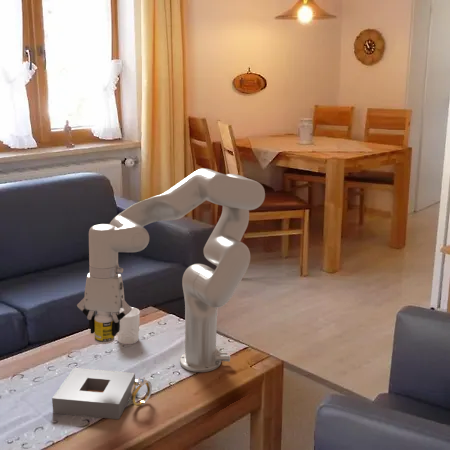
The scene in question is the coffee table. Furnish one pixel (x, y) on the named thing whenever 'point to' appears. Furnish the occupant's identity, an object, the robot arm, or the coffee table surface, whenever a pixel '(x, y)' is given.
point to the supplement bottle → (103, 327)
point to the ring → (133, 393)
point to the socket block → (94, 393)
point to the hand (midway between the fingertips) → (104, 332)
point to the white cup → (129, 327)
